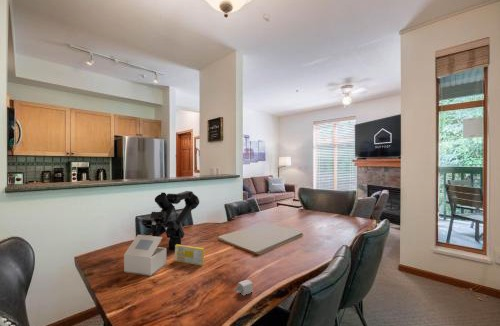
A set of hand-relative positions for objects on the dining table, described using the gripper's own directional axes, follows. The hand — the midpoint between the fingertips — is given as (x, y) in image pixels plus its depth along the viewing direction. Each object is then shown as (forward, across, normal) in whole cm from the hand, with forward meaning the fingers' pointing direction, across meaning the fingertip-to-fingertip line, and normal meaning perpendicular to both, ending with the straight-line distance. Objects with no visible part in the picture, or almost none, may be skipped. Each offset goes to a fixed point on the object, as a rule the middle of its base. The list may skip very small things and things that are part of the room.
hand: (152, 240), depth 115 cm
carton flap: (+5, 0, -4) cm, 6 cm away
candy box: (+4, +17, +12) cm, 22 cm away
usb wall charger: (+18, +50, -1) cm, 53 cm away
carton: (+12, 0, +5) cm, 13 cm away
